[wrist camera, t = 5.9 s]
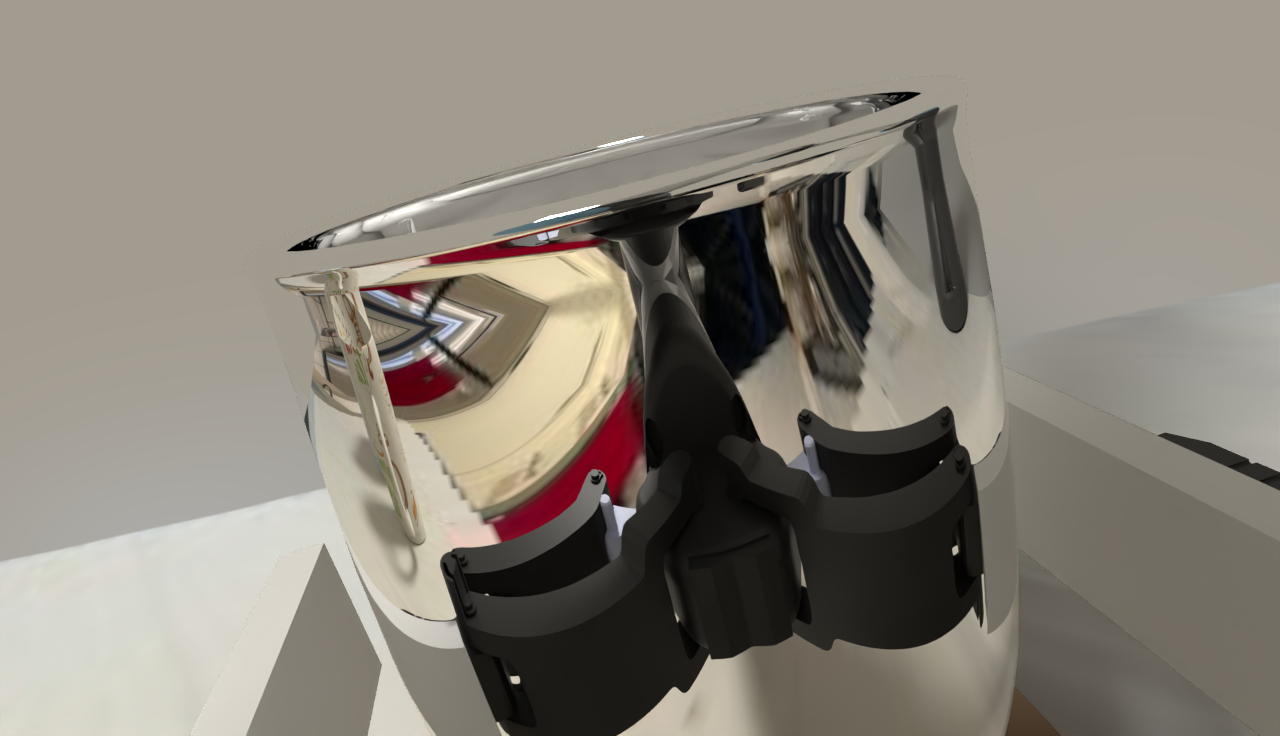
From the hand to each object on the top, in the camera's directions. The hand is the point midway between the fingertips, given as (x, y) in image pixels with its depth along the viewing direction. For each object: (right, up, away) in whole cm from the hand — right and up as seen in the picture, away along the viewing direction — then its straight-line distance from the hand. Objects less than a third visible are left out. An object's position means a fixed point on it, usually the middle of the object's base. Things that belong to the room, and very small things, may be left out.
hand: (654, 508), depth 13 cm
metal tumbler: (+3, -9, -1) cm, 10 cm away
